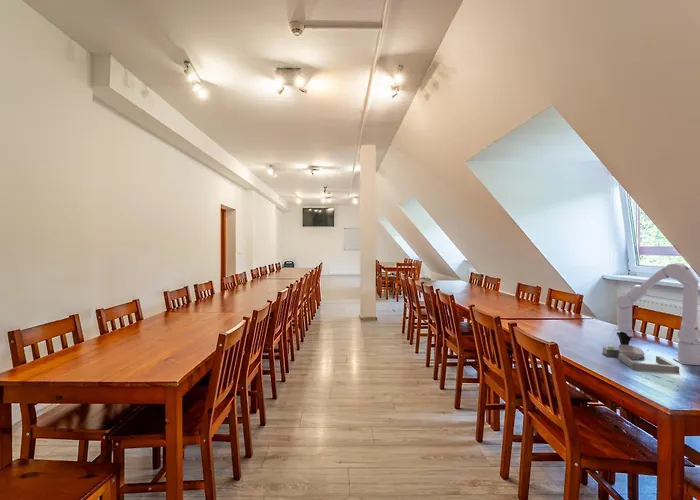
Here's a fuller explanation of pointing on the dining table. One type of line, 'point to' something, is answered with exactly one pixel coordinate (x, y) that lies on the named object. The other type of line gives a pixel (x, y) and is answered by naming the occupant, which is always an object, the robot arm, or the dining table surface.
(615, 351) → the button box
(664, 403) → the dining table surface
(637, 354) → the stone block
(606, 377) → the dining table surface
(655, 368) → the corral
